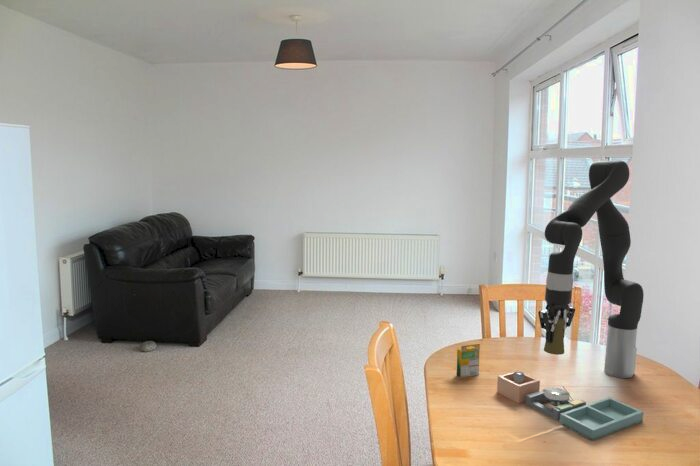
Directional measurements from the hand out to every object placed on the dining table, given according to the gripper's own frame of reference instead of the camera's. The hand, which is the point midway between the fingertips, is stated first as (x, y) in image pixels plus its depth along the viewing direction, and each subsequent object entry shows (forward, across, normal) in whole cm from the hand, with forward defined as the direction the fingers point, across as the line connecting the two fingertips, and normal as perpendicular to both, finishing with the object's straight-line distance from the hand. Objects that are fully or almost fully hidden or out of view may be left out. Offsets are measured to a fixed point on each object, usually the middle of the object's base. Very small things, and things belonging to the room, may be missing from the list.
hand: (554, 341), depth 171 cm
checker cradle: (+19, +4, +5) cm, 20 cm away
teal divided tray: (+19, -2, +17) cm, 26 cm away
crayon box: (+20, +11, -26) cm, 35 cm away
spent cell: (+19, +7, -6) cm, 21 cm away
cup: (+19, +7, -6) cm, 21 cm away
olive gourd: (+4, 0, 0) cm, 4 cm away
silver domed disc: (+18, +4, +5) cm, 19 cm away
